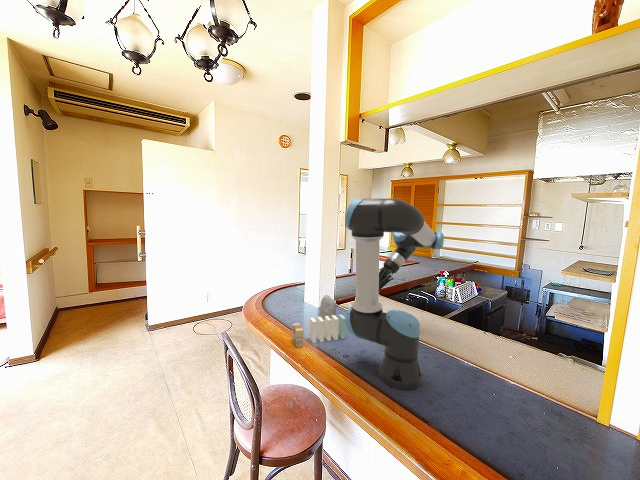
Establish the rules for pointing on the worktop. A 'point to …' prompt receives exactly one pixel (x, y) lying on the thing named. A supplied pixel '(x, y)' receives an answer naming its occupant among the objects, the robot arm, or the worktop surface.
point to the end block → (297, 334)
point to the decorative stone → (327, 307)
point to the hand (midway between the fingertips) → (363, 298)
